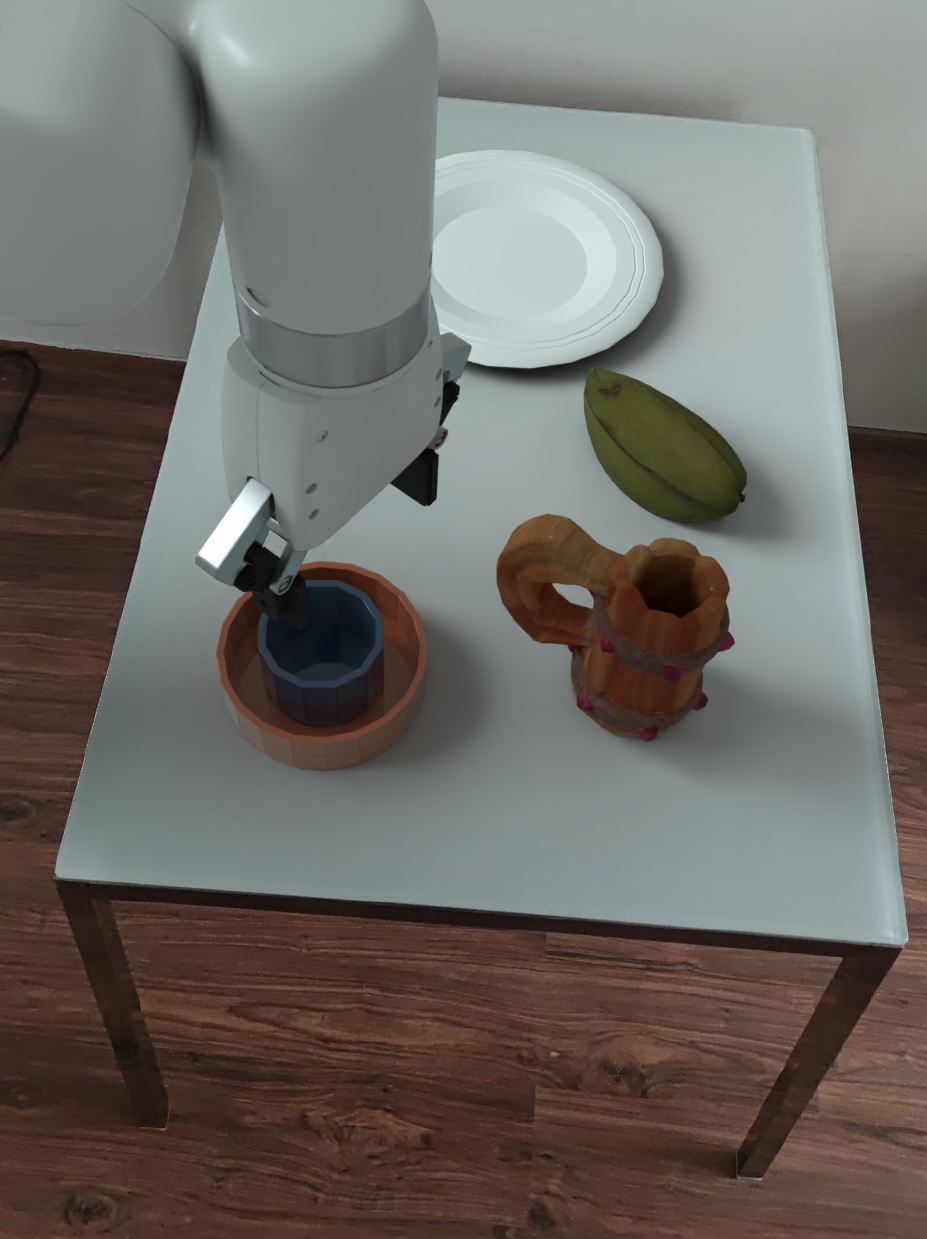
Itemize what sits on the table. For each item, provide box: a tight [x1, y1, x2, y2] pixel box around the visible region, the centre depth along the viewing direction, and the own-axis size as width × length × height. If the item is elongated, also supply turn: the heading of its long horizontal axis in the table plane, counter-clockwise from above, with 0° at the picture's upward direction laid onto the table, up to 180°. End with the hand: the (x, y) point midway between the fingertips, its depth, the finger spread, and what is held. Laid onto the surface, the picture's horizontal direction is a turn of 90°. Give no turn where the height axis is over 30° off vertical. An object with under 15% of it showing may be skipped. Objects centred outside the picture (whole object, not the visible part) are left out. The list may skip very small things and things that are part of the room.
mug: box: [495, 513, 736, 743], centre depth 74 cm, size 15×8×15 cm, turn 65°
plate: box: [431, 149, 665, 371], centre depth 99 cm, size 25×25×2 cm
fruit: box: [583, 366, 748, 523], centre depth 87 cm, size 11×12×7 cm
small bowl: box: [258, 580, 384, 728], centre depth 77 cm, size 8×8×6 cm
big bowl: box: [215, 560, 429, 771], centre depth 78 cm, size 13×13×4 cm
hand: (347, 548), depth 62 cm, fingers open, 9 cm apart
